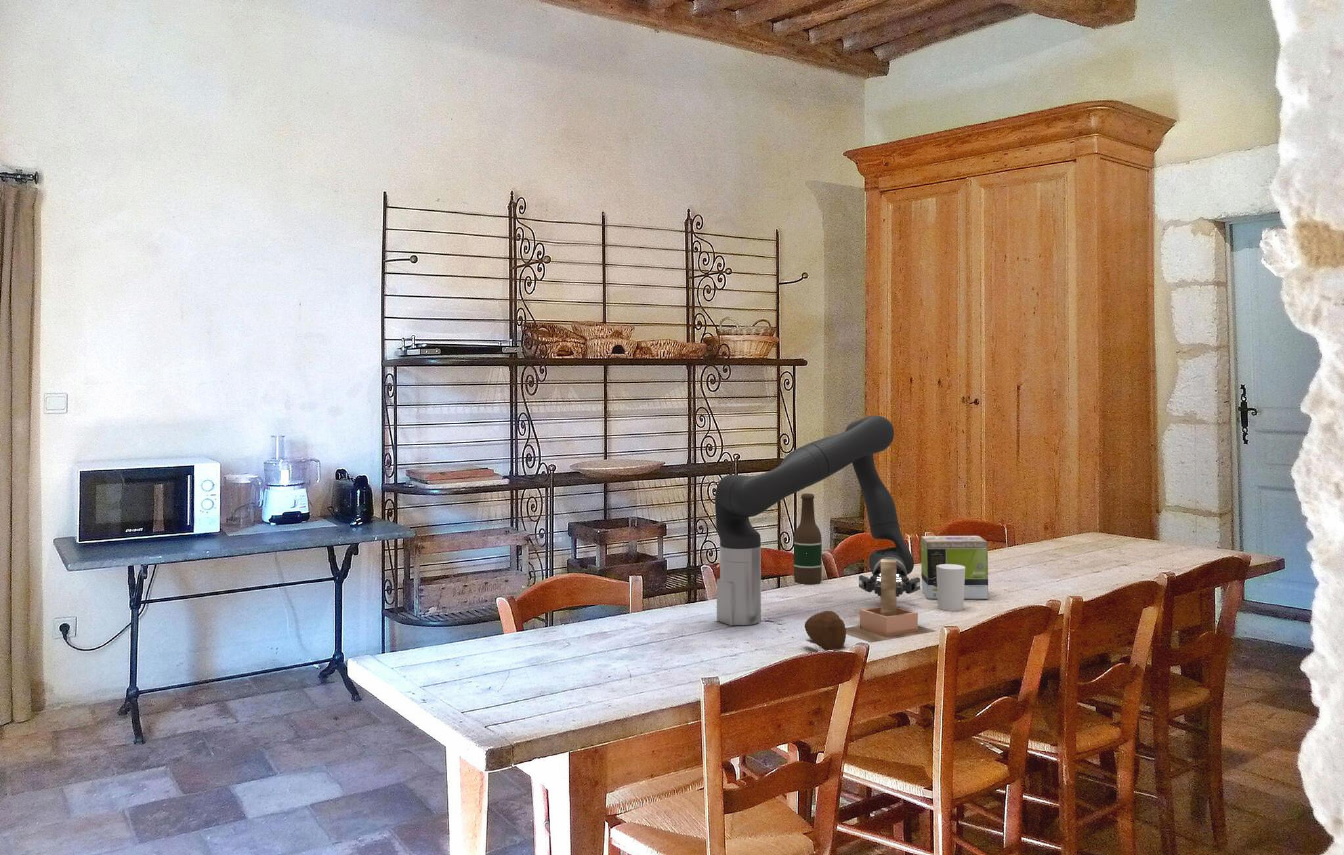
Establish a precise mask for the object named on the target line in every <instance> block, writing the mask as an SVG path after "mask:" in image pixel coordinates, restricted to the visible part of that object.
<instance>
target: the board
mask: <svg viewBox="0 0 1344 855" xmlns="http://www.w3.org/2000/svg"><path fill="white" fill-rule="evenodd" d="M845 628H846V636H850V637H852V638H853V637H854V638H856V639H859V640H862V641H865V642H868V643H876V642H882V641H888V640H894V639H898V638H900V639H901V638H906V637H910V636H917V635H923V634H928V633H933V632H935V633H936V630H934V629H931V628H928V627H925V626H921V625H918V632H912V633H906V634H900V635H894V636H889V637H886V636H883V635H879V634H876V633H873V632H870V631H867V630H864V629H861V628H860V625H855V626H848V627H845Z"/></svg>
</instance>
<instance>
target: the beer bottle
mask: <svg viewBox="0 0 1344 855" xmlns="http://www.w3.org/2000/svg"><path fill="white" fill-rule="evenodd" d="M800 496H801V497H800V499H801V510H800V511H801V512H800V513H801V514H800V523H799V525H798V526H797V527H796V529H795V533H794V536H793V580H794V581H793V582H794V583H796V584H799V585H817V584H818V585H819V584H821V582H822V573H823V572H822V571H823V568H822V567H823V565H822V564H823V561H822V560H823V559H822V558H823V555H822V554H823V549H822V548H823V547H822V545H823V543H822V542H823V541H822V539H823V537H822V533H821V530H820V528H819V526H818V525H817V523H816V517H815V503H814V499H815V494H813V493H802V494H801V495H800ZM806 553H807V554H806Z"/></svg>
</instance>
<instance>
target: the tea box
mask: <svg viewBox="0 0 1344 855" xmlns="http://www.w3.org/2000/svg"><path fill="white" fill-rule="evenodd" d="M920 547H921V548H920V549H921V550H920V554H921V558H920V561H921V570H920V571H921V575H920V576H921V591H922V592H923V594H924V595H925V597H926V598H927V599H928V600H929V599H930V600H932V599H933V600H934V599H935V600H938V593H937V570H936V566H937V565H941V564H955V565H962V566H964V567H965V582H964V600H965V599H966V600H968V599H969V600H971V599H972V600H976V599H977V600H988V599H989V554H988V553H989V551H988V550H989V547H988V541H987V540H985V539H984V538H982V537H981V536H980V535H922V536H920Z"/></svg>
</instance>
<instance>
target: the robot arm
mask: <svg viewBox="0 0 1344 855" xmlns="http://www.w3.org/2000/svg"><path fill="white" fill-rule="evenodd" d="M894 437H895V430H894V426H893V424H892V423H891V421H890V420H889V419H887V418H886V417H885V416H880V415H876V414H875V415H870V416H869V415H868V416H865V417H863V418H860V419H857V420H855V421H852V422H851V423H849V424H848V425H847V427H846V428H845V430H844V432H841V433H837V434H833V435H830V436H827V437H823V438H821V439H817V440H815V441H812V442H810V443H807V444H804V445H802V446H800V447H798V448H796V449H794V450H792V451H791V452H790V453H788V454H787V455H786V456H785V457H784V458H783V459H782V461H781V463H780V464H779V465H778V466H776V467H775V468H773V469H770V470H768V471H766V472H764V473H761V474H758V475H757V474H756V475H744V474H743V475H741V474H728V475H725V476H723V477H722V478H720V480H719V482H718V483H717V486H716V488H715V489H716V490H715V494H714V511H715V512H714V513H715V528H716V532H717V535H718V538H719V565H720V566H719V576H720V578H717V579H716V621H718V622H721V623H724V624H726V625H728V626H750V625H755V624H759V623H761V621H762V573H761V572H762V571H761V570H762V568H761V566H762V564H761V561H762V560H761V559H762V556H761V555H762V549H761V548H762V547H761V545H762V541H761V534H760V533H759V532H758V531H757V530H756V529H755V528H754V526H753V525H752V524H751V522H750V518H752V517H756V516H758V515H760V514H762V513H764V512H765V511H767V510H768V509H770V508H771V507H772V506H773V507H774V505H775V504H777V503H779V502H780V501H782V500H784V499H785V498H786V497H787V498H788V497H789V496H791V495H794V494H795V493H798V492H800V491H802V490H804V489H806V488H808V487H811V486H813V485H815V484H818V483H820V482H821V481H823V480H825V479H827V478H829V477H830V476H832V475H835V474H836V473H837V472H839V471H841V470H843V469H844V468H846V467H847V466H849V465H850V464H852V467H853V470H854V473H855V475H856V478H857V481H858V484H859V486H860V490H861V494H862V496H863V500H864V504H865V508H866V515H867V520H868V524H869V531H870V535H871V537H872V538H873V539H874V540H887V541H891V542H893V543H894V545H895V546H894V547H888V548H883V549H882V548H881V549H877V550H874V551H872V552H871V553H870V555H869V558H868V566H869V569H870V571H871V574H872V575H871V576H870V577H868V576H865V575H858V588H859V589H861V590H863V591H865V592H867V593H872V592H873V591H874V592H873V593H874V594H875V595H877V597H881V559H888V560H896V598H898V597H900V596H902V595H903V594H904V592H905V594H907V595H910V594H913V593H915V592H917V591H920V590H921V578H920V577H918V576H917V577H913V578H910V579H909V577H908V575H910V574H911V573H912V572H913V570H914V567H915V561H914V557H913V555H912V552H911V551H910V549H909V547H908V546H907V543H906V542H905V539H904V537H903V535H902V532H901V528H900V524H899V519H898V513H897V509H896V504H895V501H894V498H893V497H892V494H891V493H890V491H889V490H888V488H887V487H886V485H885V483H883V481H882V480H881V478H880V476H879V474H878V472H877V469H876V468H877V467H876V466H875V465H876V464H875V460H874V458H875V457H874V455H875V454H878V453H881V452H883V451H885V450H887V449H888V448H889V447H890V446H891V444H892V443H893V441H894Z"/></svg>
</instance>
